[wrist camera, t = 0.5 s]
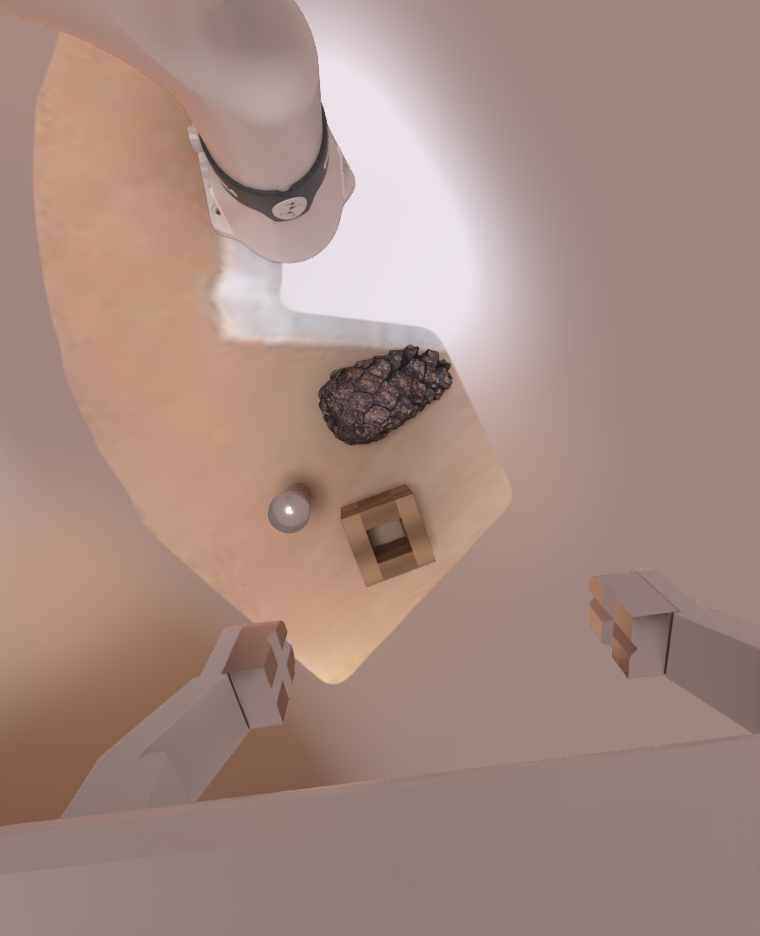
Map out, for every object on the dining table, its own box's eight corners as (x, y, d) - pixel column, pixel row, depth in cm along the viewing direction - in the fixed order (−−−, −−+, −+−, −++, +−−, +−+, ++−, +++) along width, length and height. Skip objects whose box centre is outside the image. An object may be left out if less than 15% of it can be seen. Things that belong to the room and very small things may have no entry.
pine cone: (453, 389, 56) (478, 385, 46) (347, 455, 56) (349, 465, 46) (417, 323, 54) (434, 304, 44) (307, 391, 54) (299, 388, 44)
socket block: (340, 508, 57) (340, 519, 51) (405, 484, 57) (412, 493, 51) (363, 568, 58) (366, 587, 52) (426, 545, 59) (435, 561, 53)
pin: (275, 484, 55) (261, 501, 45) (308, 473, 55) (300, 487, 45) (288, 515, 56) (277, 538, 46) (320, 504, 56) (315, 524, 46)
